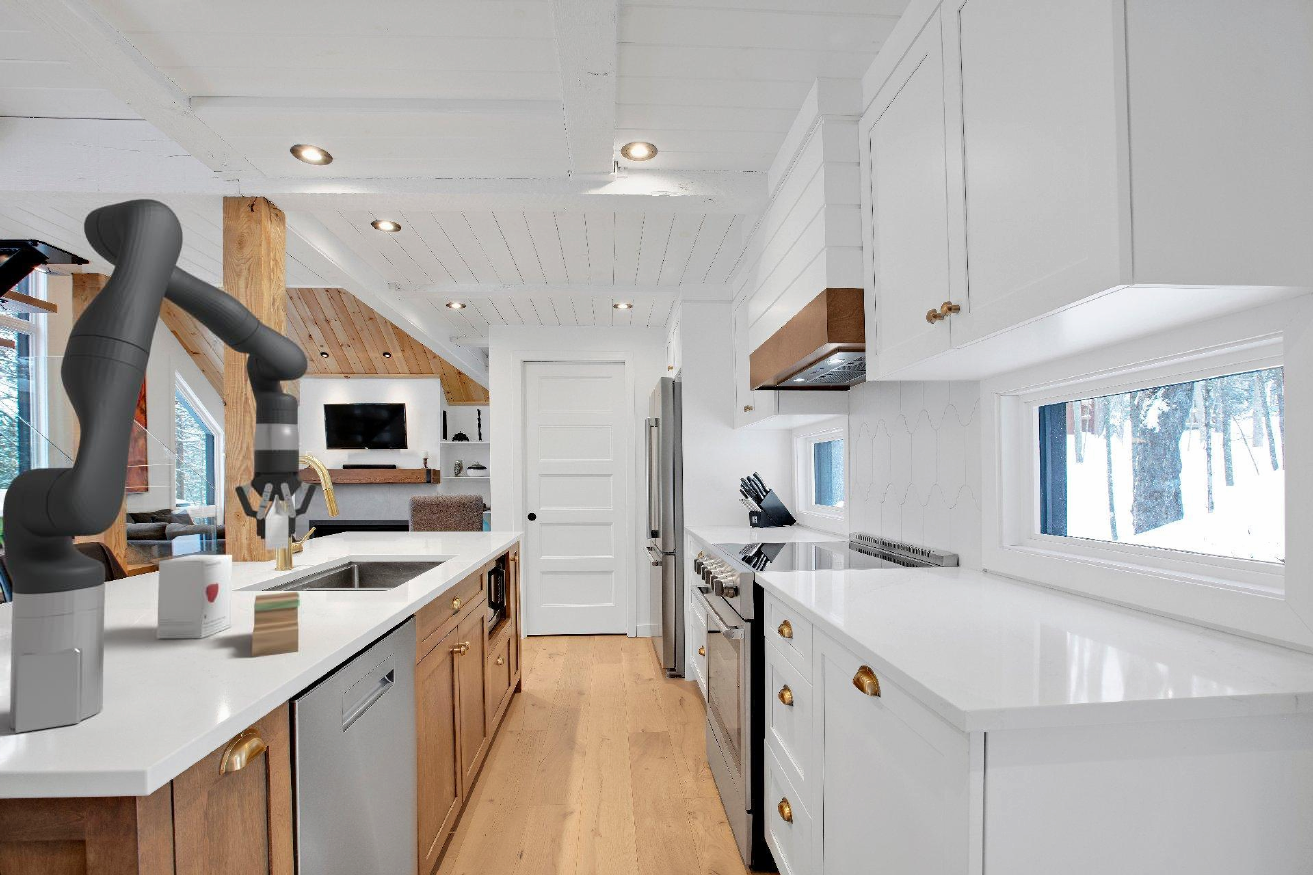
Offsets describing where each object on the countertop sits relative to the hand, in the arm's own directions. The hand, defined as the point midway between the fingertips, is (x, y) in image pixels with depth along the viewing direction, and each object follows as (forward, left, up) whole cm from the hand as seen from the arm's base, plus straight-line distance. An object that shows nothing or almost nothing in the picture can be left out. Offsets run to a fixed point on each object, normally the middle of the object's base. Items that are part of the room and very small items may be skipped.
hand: (276, 537), depth 126 cm
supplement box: (+14, +14, -20) cm, 28 cm away
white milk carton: (0, 0, -2) cm, 2 cm away
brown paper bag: (-4, 0, -19) cm, 20 cm away
